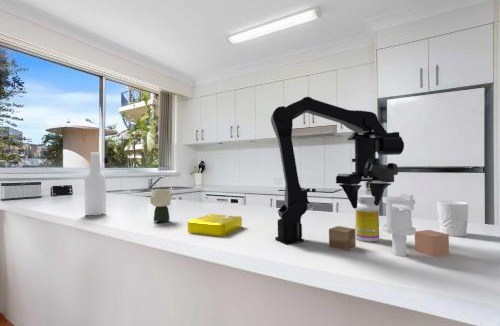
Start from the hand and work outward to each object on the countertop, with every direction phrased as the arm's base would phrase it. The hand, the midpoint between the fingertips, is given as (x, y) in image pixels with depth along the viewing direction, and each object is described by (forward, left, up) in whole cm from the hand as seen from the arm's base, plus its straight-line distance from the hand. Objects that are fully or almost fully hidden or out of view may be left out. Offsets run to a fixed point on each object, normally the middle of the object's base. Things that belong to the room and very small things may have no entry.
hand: (365, 207), depth 79 cm
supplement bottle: (0, 0, -10) cm, 10 cm away
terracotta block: (+4, -16, -10) cm, 19 cm away
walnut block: (-12, -2, -10) cm, 15 cm away
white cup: (+28, -9, -10) cm, 31 cm away
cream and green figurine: (-51, +58, -10) cm, 78 cm away
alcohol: (-77, +92, -10) cm, 120 cm away
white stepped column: (-4, -13, -10) cm, 17 cm away
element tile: (-36, +34, -10) cm, 50 cm away
